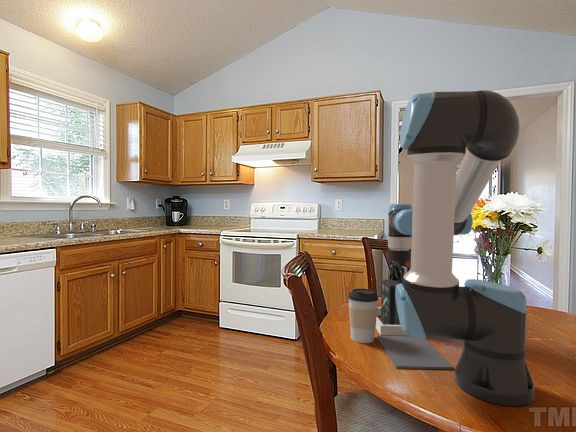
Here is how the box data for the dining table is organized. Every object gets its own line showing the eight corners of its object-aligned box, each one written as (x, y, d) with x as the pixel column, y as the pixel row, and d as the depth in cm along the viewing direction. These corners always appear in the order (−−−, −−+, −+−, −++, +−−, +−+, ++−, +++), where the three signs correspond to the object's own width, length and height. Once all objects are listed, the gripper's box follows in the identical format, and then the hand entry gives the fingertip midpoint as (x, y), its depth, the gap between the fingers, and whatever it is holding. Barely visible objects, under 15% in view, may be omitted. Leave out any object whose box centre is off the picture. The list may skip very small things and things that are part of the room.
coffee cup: (354, 331, 109) (355, 285, 109) (382, 337, 104) (382, 289, 104) (342, 339, 102) (343, 290, 102) (371, 347, 97) (371, 295, 96)
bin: (435, 336, 105) (435, 326, 105) (380, 335, 106) (380, 325, 106) (413, 315, 125) (413, 307, 125) (367, 315, 126) (367, 307, 126)
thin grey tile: (453, 369, 84) (453, 367, 84) (396, 368, 84) (396, 365, 84) (423, 338, 104) (423, 336, 104) (377, 337, 104) (377, 335, 104)
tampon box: (417, 330, 110) (418, 286, 110) (389, 330, 110) (389, 285, 110) (406, 319, 121) (407, 279, 121) (380, 319, 121) (381, 278, 121)
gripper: (423, 253, 103) (422, 325, 104) (400, 245, 127) (399, 303, 127) (398, 253, 103) (397, 324, 104) (380, 245, 127) (379, 303, 127)
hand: (398, 312), depth 116 cm, fingers closed on tampon box, 11 cm apart
